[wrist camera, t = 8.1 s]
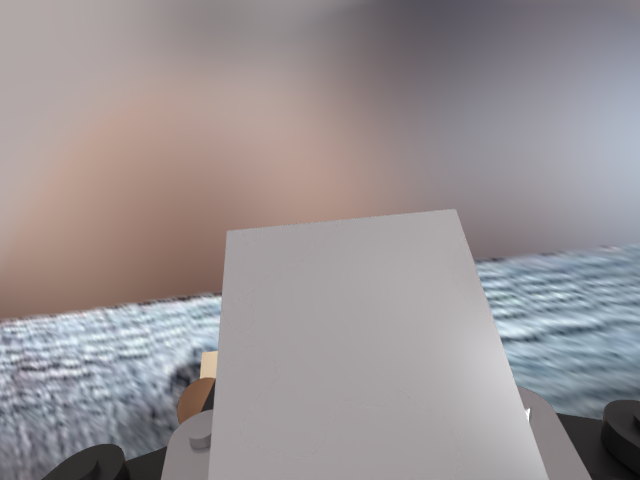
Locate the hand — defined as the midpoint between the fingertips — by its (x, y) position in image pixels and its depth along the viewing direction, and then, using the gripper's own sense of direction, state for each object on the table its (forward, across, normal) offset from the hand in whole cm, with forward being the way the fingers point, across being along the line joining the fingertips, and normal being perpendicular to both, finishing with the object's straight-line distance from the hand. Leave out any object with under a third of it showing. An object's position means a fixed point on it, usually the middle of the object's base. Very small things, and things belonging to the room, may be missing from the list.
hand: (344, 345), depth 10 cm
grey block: (+2, 0, +4) cm, 5 cm away
